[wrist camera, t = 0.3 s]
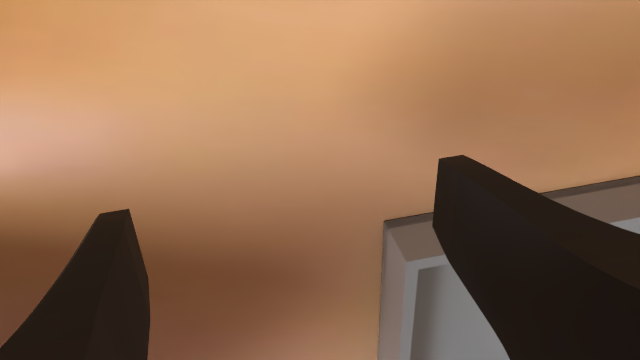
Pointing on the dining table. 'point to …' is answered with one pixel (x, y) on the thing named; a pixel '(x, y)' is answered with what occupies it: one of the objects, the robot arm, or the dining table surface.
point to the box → (448, 290)
